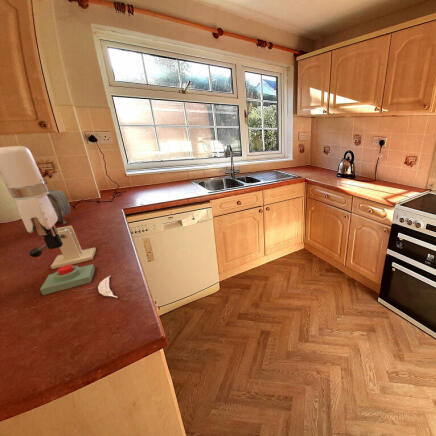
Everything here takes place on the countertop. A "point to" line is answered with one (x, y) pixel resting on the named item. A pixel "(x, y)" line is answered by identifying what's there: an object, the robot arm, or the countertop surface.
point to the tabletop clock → (59, 203)
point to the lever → (39, 250)
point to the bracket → (71, 249)
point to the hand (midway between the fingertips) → (56, 247)
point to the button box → (68, 279)
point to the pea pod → (105, 288)
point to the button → (65, 269)
